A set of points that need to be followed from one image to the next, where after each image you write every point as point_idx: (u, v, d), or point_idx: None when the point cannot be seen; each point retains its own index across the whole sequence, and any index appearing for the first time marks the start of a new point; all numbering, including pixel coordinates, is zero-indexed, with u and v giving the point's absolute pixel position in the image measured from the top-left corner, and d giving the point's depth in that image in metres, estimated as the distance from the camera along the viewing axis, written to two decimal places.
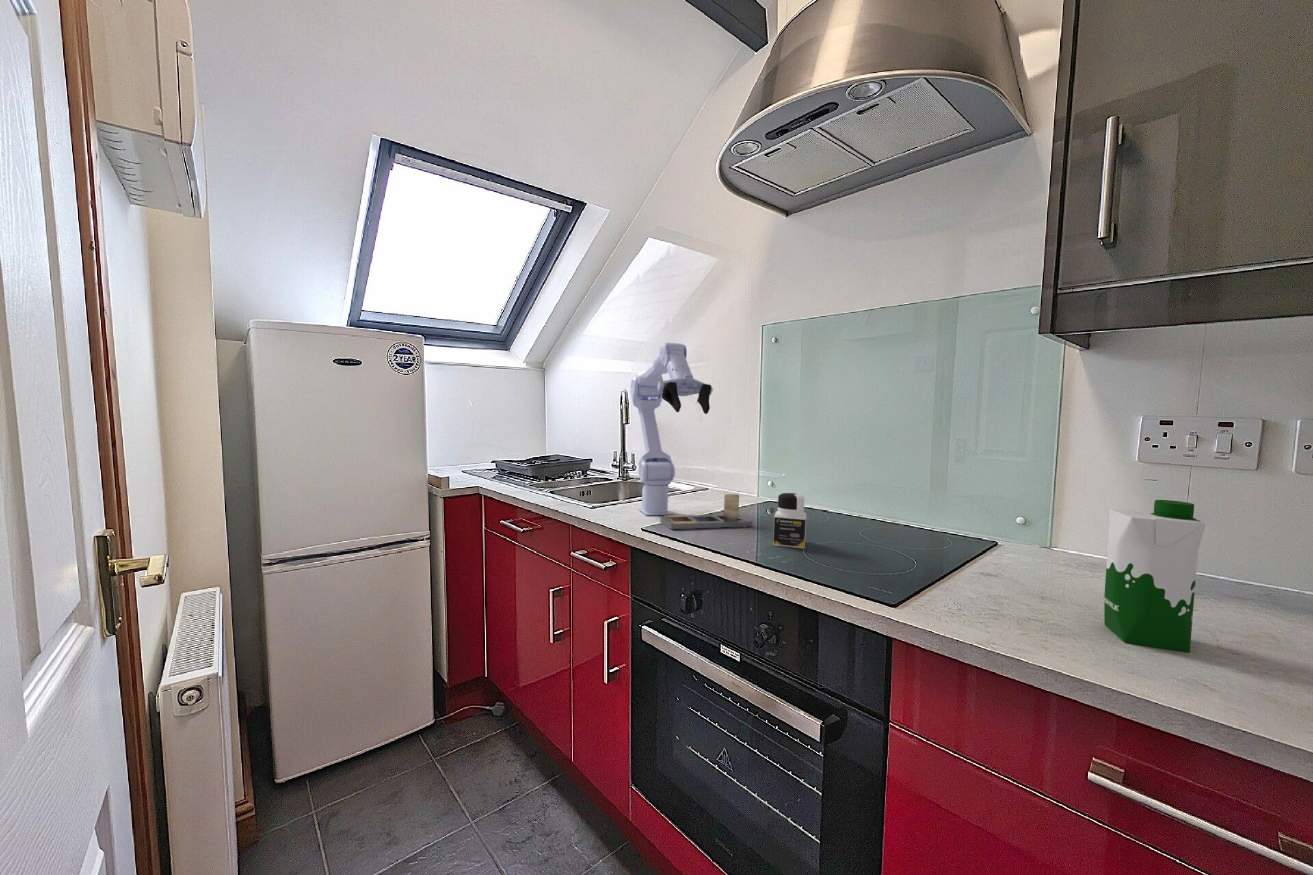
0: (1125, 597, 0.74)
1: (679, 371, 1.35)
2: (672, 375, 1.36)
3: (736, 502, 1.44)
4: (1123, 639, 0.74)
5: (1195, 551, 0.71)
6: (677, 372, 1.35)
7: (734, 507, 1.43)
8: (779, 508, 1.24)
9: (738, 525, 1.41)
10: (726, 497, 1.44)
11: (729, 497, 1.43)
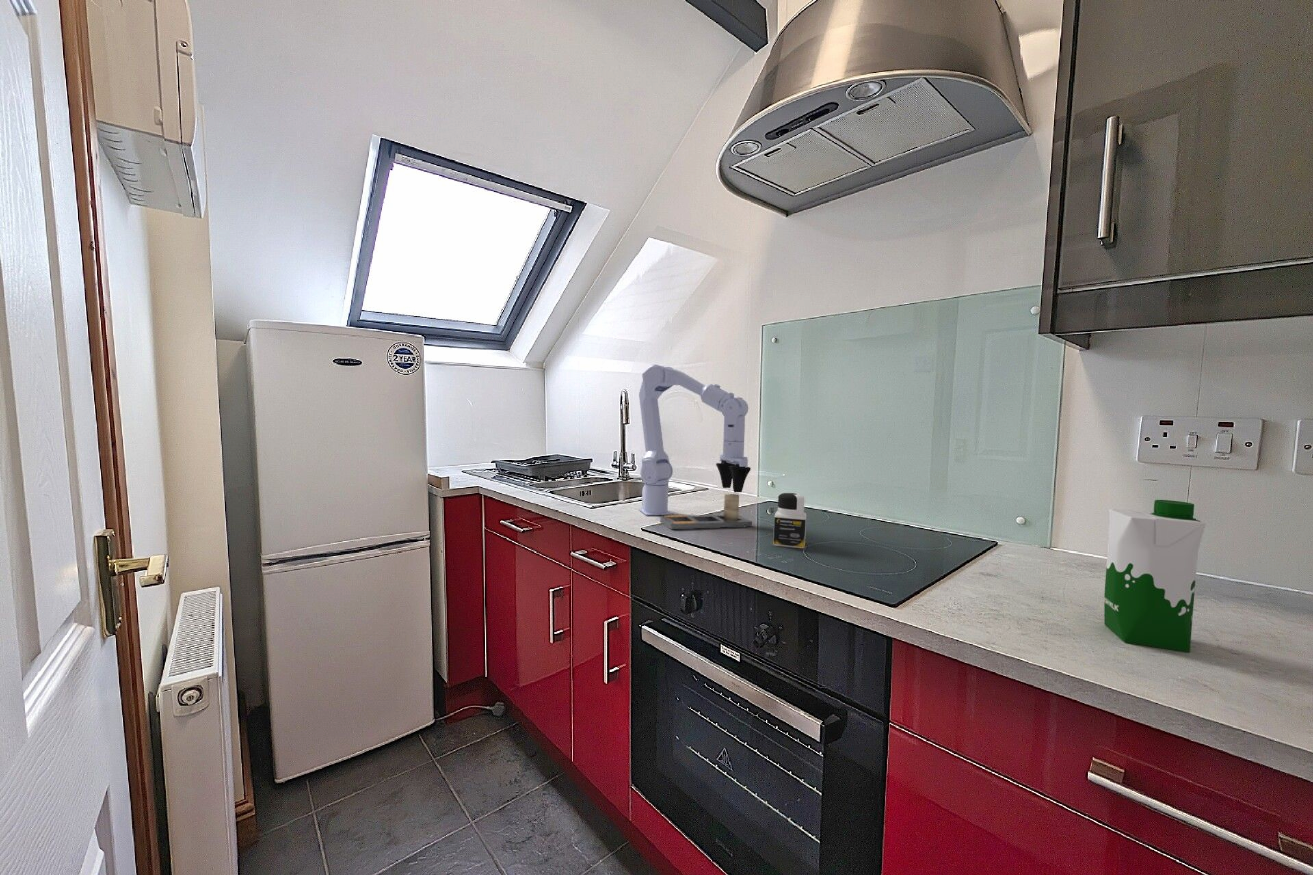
0: (1125, 597, 0.74)
1: (743, 447, 1.44)
2: (739, 446, 1.42)
3: (736, 502, 1.44)
4: (1123, 639, 0.74)
5: (1195, 551, 0.71)
6: (743, 448, 1.43)
7: (734, 507, 1.43)
8: (779, 508, 1.24)
9: (738, 525, 1.41)
10: (726, 497, 1.44)
11: (729, 497, 1.43)
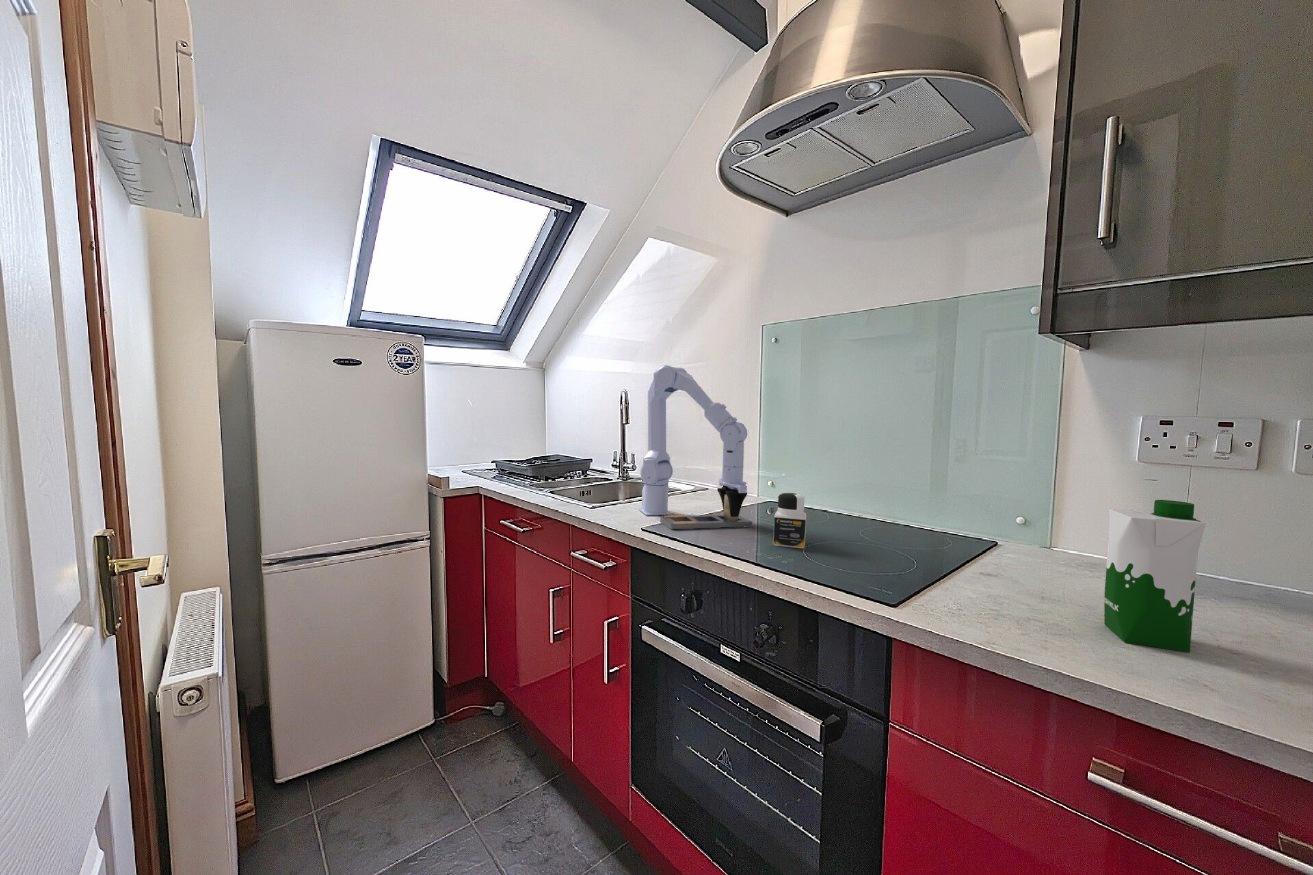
0: (1125, 597, 0.74)
1: (742, 473, 1.44)
2: (738, 472, 1.42)
3: None
4: (1123, 639, 0.74)
5: (1195, 551, 0.71)
6: (742, 473, 1.44)
7: None
8: (779, 508, 1.24)
9: (738, 525, 1.41)
10: (726, 497, 1.44)
11: None
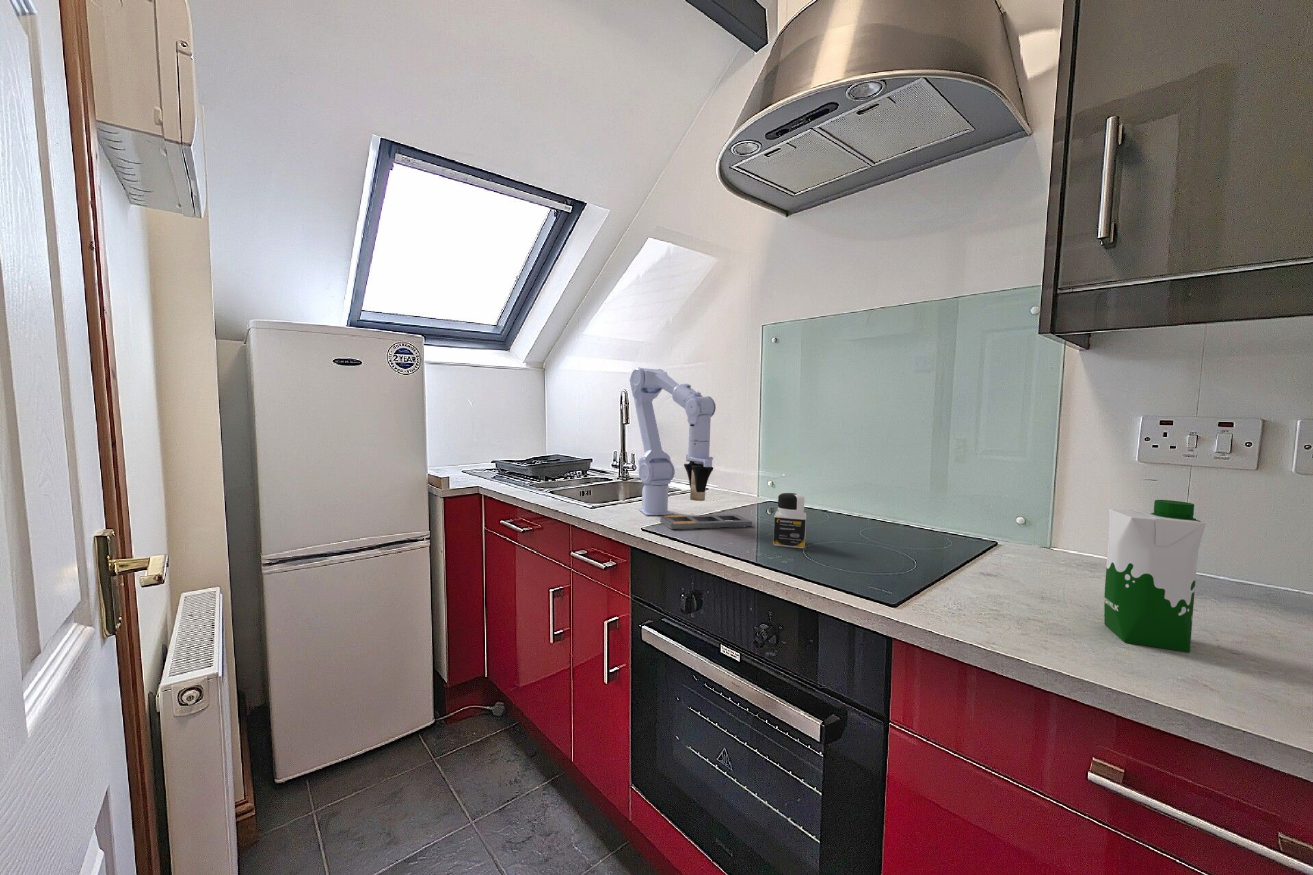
0: (1125, 597, 0.74)
1: (709, 447, 1.41)
2: (704, 446, 1.39)
3: None
4: (1123, 639, 0.74)
5: (1195, 551, 0.71)
6: (708, 448, 1.41)
7: None
8: (779, 508, 1.24)
9: (738, 525, 1.41)
10: (693, 472, 1.41)
11: None
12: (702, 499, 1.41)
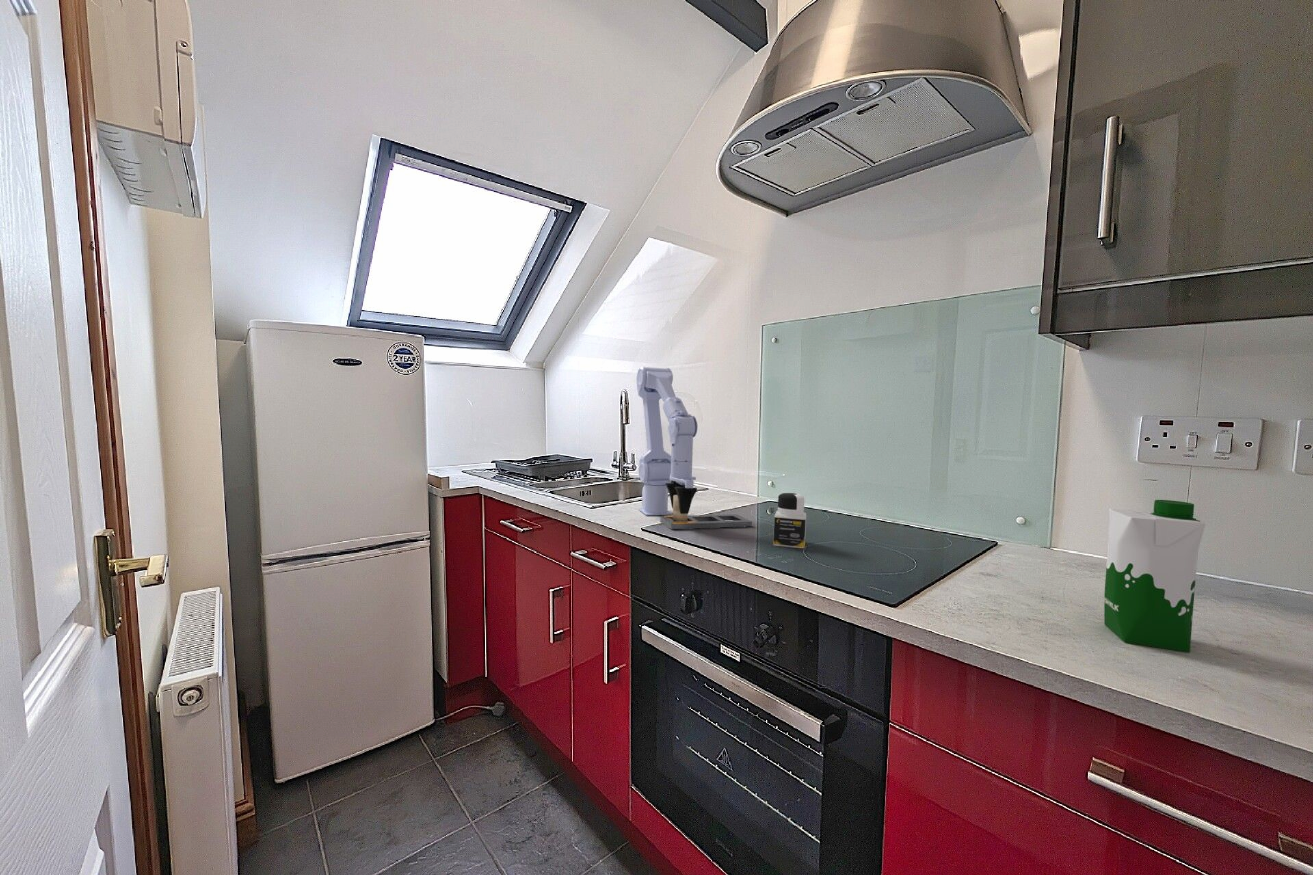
0: (1125, 597, 0.74)
1: (691, 467, 1.40)
2: (687, 466, 1.38)
3: None
4: (1123, 639, 0.74)
5: (1195, 551, 0.71)
6: (691, 468, 1.39)
7: None
8: (779, 508, 1.24)
9: (738, 525, 1.41)
10: (675, 498, 1.40)
11: (677, 498, 1.39)
12: None
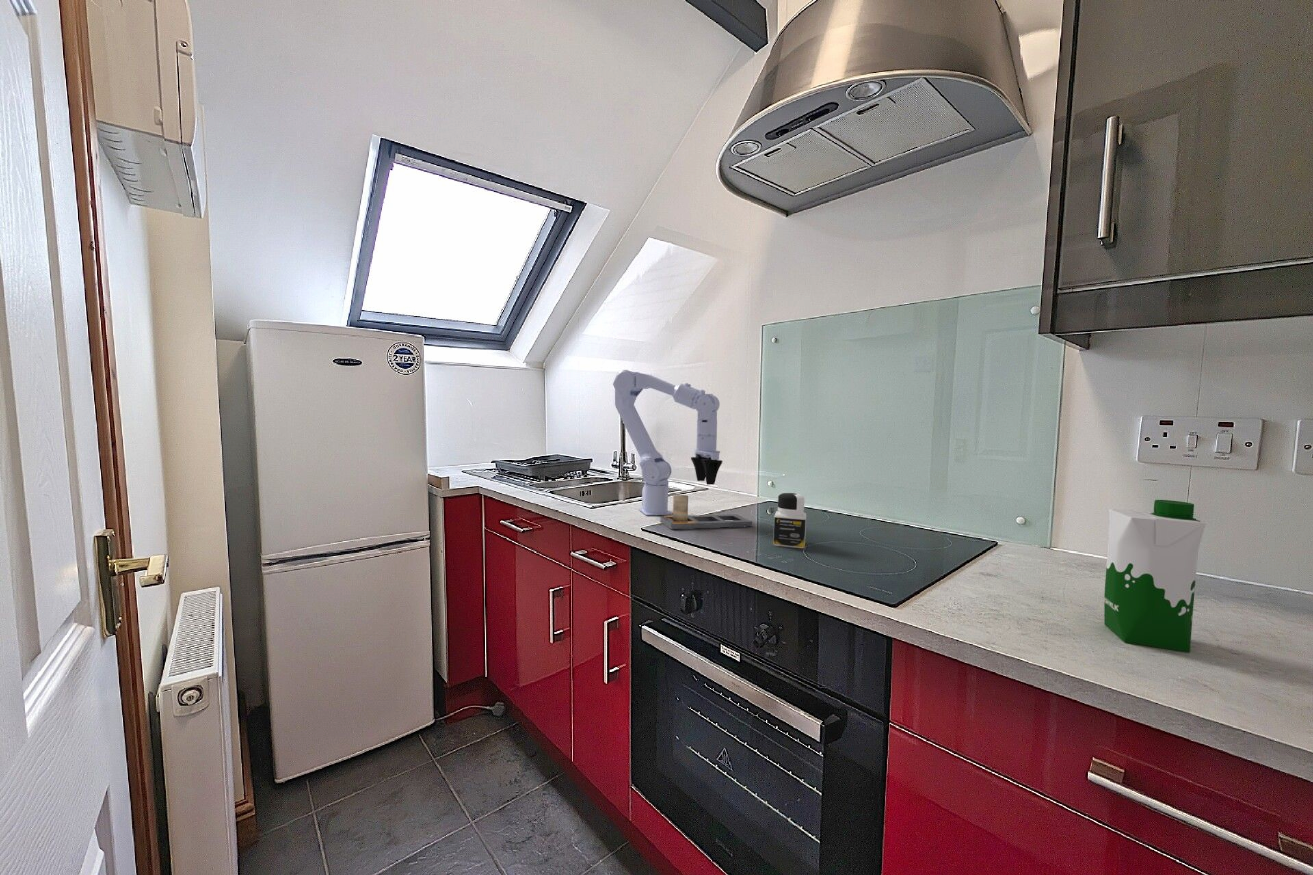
0: (1125, 597, 0.74)
1: (716, 442, 1.50)
2: (712, 440, 1.48)
3: (685, 503, 1.40)
4: (1123, 639, 0.74)
5: (1195, 551, 0.71)
6: (715, 442, 1.49)
7: (683, 508, 1.39)
8: (779, 508, 1.24)
9: (738, 525, 1.41)
10: (675, 498, 1.40)
11: (677, 498, 1.39)
12: None
